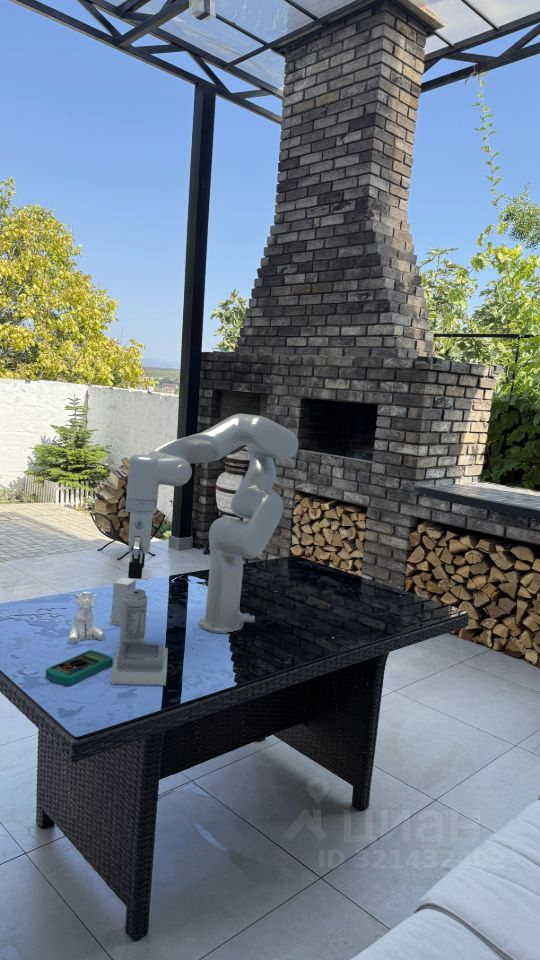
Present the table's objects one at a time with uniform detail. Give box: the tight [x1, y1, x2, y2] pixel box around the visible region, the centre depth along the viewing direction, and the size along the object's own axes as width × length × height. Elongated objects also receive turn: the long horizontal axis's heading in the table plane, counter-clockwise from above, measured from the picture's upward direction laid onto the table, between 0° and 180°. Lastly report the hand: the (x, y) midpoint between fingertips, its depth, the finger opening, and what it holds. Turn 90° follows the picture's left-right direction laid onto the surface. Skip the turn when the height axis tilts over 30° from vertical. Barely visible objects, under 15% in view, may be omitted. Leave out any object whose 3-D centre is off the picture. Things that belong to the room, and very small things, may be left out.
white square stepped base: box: [110, 642, 169, 686], centre depth 147 cm, size 12×14×5 cm
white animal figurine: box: [67, 590, 106, 645], centre depth 164 cm, size 10×9×12 cm
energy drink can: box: [119, 588, 148, 646], centre depth 159 cm, size 6×6×15 cm
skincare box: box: [110, 577, 137, 626], centre depth 177 cm, size 6×4×12 cm
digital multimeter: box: [45, 649, 114, 687], centre depth 144 cm, size 7×15×3 cm, turn 153°
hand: (136, 572), depth 157 cm, fingers open, 9 cm apart
